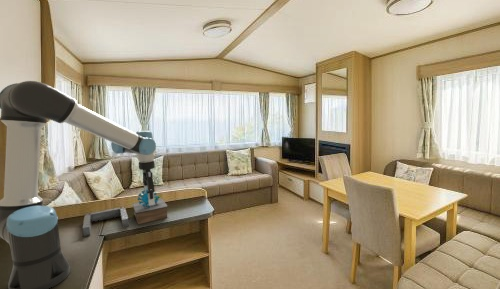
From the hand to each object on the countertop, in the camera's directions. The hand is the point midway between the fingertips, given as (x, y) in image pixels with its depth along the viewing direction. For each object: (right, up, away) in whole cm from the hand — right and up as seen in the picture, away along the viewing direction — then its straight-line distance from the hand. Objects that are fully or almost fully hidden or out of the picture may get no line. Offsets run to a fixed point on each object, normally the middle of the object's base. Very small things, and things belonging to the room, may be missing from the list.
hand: (149, 200), depth 127 cm
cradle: (-18, -10, -8) cm, 22 cm away
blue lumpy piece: (0, -2, 0) cm, 2 cm away
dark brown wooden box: (0, -8, +1) cm, 8 cm away
